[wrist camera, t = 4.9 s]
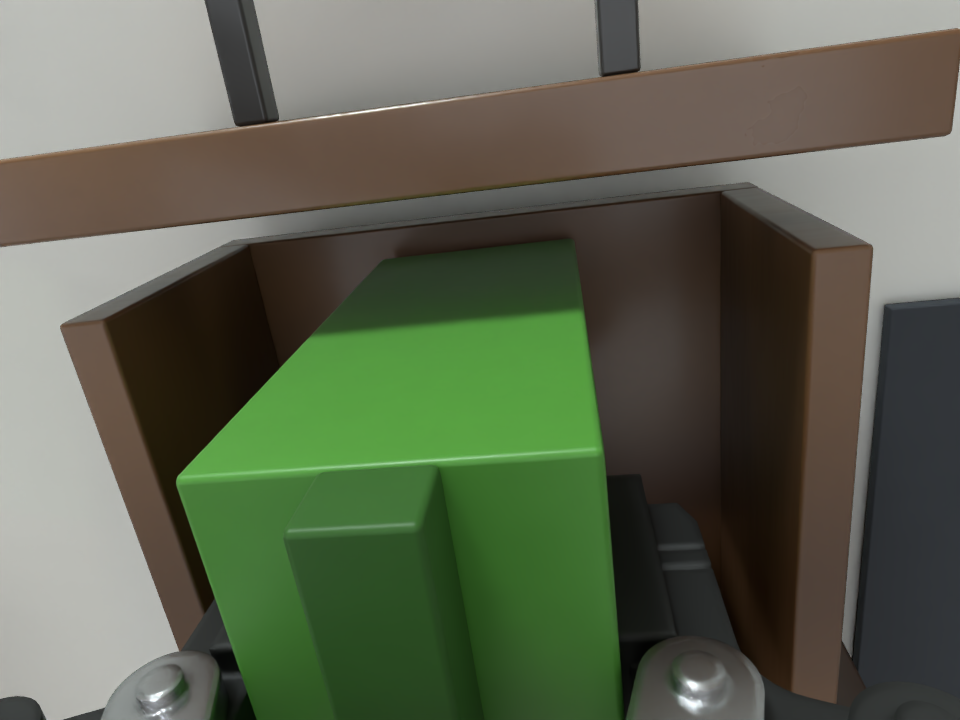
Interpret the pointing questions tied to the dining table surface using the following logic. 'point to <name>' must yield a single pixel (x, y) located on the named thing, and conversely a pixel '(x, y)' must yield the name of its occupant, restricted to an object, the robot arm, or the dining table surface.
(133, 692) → the robot arm
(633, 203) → the drawer
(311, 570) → the green ridged box
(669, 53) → the dining table surface
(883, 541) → the placemat
